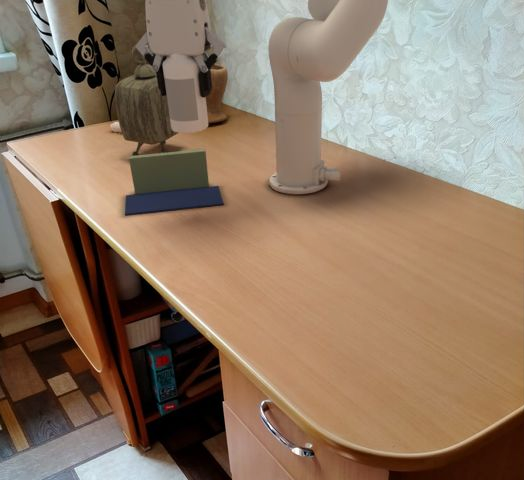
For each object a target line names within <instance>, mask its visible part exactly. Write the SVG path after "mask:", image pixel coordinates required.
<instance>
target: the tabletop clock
mask: <svg viewBox="0 0 524 480" xmlns="http://www.w3.org/2000/svg"><path fill="white" fill-rule="evenodd" d="M148 48H149V49H150V47H149V44H148ZM136 50H137V48H136V44H135V45H134V46H133V47H132V50H131V59H132V61H133V62H134V63H135V64H139V65H137V66H136V67H135V69H134V73H133V74H132V75H130V76H127V77H125V78H123V79H121V80H120V81H118V82H117V84H115V86H114V100H115V101H114V103H115V109H116V116H117V120H118V122H119V125H120V129H121V132H122V133H121V134H122V137H123V138H124V140H125V141H127V142H128V141H129V142H133V143H134V142H135V143H137V147H136V150H134V151H133V152H132V153H131V156H136V155H140V154H139V151H140V149H141V147H143V145H144V144H146V145H152V146H153V145H157V144H159V145H160V147H161V149H160V153H167V152H168V149H167V148H166V147H165V146H164V145H166V143H167V141H168V140H169V139H170V138H172V137H174V136H176V135H178V134H179V133H178V132H174V131H173V130H172V129H171V122H170V115H169V108H168V101H167V95H166V96H161V92H160V90H159V88H158V82H157V75H156V72H155V71H154V70H153V68H152V66H151V65H150V64H149V63H148V62H147V61H146V60H145V57H144V56H143V55H141V56H140V60H137V59H136V58H135V57H134V56H135V55H134V54H135V51H136ZM150 51H151V50H150ZM151 52H152V51H151Z"/></svg>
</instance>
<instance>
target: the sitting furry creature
mask: <svg viewBox="0 0 524 480" xmlns="http://www.w3.org/2000/svg"><path fill="white" fill-rule="evenodd" d="M109 126H110V130H111V131H112V132H114V133H120V134H122V132H121V129H120V125H119V121H114V122H112V123H110V125H109Z"/></svg>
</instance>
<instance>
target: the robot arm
mask: <svg viewBox="0 0 524 480" xmlns="http://www.w3.org/2000/svg"><path fill="white" fill-rule="evenodd" d="M388 3H389V0H307V10H308V13H309V16H311V18H307V17H300V16H292V17H287V18H285V19H282V20H281V21H280V22H278V23H277V24H276V25H275V26H274V28H273V29H272V31H271V32H270V36H269V39H268V45H267V46H268V47H267V48H268V49H267V51H268V60H269V64H270V65H269V66H270V70H271V76H272V81H273V82H272V83H273V96H274V128H275V130H274V131H275V168H276V169H275V170H276V172H275V173H273V174H272V175H271V176H270V177H269V186H270V188H271V189H273V190H275V191H276V192H279V193H282V194H286V195H287V194H288V195H307V194H312V193H316V192H319V191H321V190H323V189H324V188H325V187H327V185H328V181H334V182H340V179H341V171H338V168H337V167H327V166H326V165H325V160H323V159H322V132H323V131H322V129H323V128H322V125H323V124H322V123H323V91H322V86H321V82H322V83H329V82H332V81H334V80H337V79H339V78H340V77H341V76H342V75H343V74H344V73H345V72H346V71H347V70H348V69H349V67H350V66H351V64H353V62H354V61H355V60H356V58H357V57H358V55H360V53H361V51H362V50H363V49H364V48H365V46H366V45H367V44H368V42H369V41H370V40H371V38H372V37H373V36H374V34H375V33H376V31H378V29H379V27H380V25H382V22H383V20H384V18H385V15H386V12H387V9H388V8H387V7H388ZM144 4H145V6H144V8H145V23H146V24H145V25H146V26H145V27H146V31H145V33H144V34H143V35H142V36H141V38H140V39H139V40H138V41H137V43H136V44H135V45H136V50H137V51H138V52H139V53H140V54H141V56H144V57H145V60H146V61H147V62H146V63H147V64H149V65H151V66H152V68H153V70H154V71H155V72H156V75H157V82H158V88H159V90H160V92H161V96H166V95H167V94H166V86H165V79H164V72H163V62H164V61H165V60H166V59H167V58H168V57H169V55H172V54H175V53H177V54H181V55H185V56H194V58H195V60H196V62H197V63H198V65H199V67H200V70H201V72H200V73H199V74H198V77H199V86H200V95H201V97H204V98H205V97H206V96H208V95H209V94H210V93H211V90H212V79H211V69H212V68H213V66H214V64H217V62H218V61H219V59H220V58H221V56H222V54H223V53H224V52H225V50H226V48H227V44H226V43H225V42H224V41H223V40H222V39H221V38H219V36H218V35H216V34H215V33H214V32H213V30H212V26H211V21H210V19H211V18H210V13H209V8H208V3H207V0H145V3H144ZM148 44H149V47H150V49H149V47H148ZM212 47H213V50H212V52H211V54H210V55H209V54H208V52H207V51H209V50H210V49H212ZM150 50H151V51H152V52H151V51H150Z"/></svg>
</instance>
